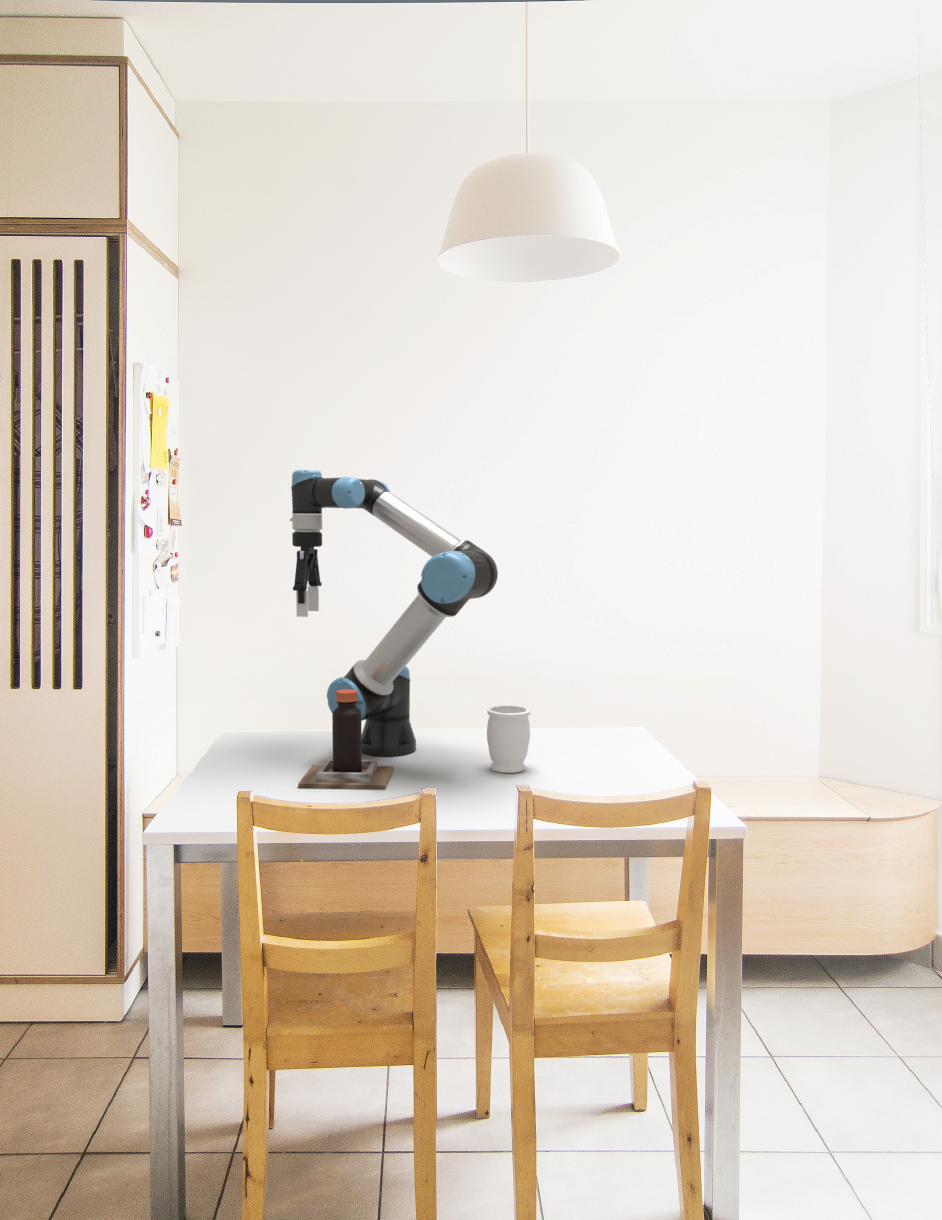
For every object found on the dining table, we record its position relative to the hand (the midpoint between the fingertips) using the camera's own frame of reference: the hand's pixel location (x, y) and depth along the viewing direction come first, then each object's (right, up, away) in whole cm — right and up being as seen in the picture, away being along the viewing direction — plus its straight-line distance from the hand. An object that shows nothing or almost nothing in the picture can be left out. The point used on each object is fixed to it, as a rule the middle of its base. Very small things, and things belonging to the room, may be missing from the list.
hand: (308, 613), depth 238 cm
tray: (+13, -39, -20) cm, 46 cm away
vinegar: (+13, -38, -20) cm, 45 cm away
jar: (+51, -39, -10) cm, 65 cm away
